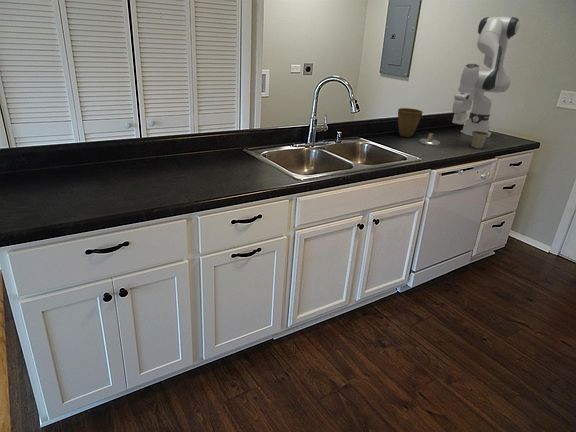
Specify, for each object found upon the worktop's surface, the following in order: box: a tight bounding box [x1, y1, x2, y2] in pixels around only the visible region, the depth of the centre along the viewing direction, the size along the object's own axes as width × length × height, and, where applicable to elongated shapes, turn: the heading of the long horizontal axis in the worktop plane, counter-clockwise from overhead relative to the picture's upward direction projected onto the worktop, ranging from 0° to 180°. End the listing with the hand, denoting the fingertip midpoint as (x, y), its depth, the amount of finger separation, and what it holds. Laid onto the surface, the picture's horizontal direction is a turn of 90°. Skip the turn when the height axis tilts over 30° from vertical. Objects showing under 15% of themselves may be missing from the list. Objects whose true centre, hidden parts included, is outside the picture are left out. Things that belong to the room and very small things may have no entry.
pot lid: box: [418, 132, 441, 147], centre depth 238 cm, size 12×12×6 cm
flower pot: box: [470, 131, 489, 149], centre depth 235 cm, size 9×9×9 cm
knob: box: [451, 111, 468, 125], centre depth 231 cm, size 6×6×7 cm
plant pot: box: [397, 107, 424, 138], centre depth 250 cm, size 15×15×16 cm
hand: (459, 119), depth 231 cm, fingers closed on knob, 6 cm apart
